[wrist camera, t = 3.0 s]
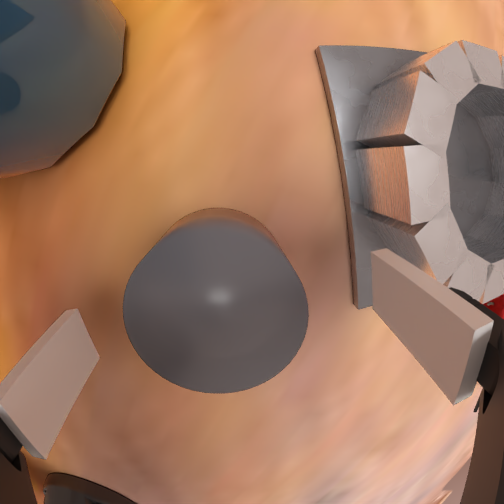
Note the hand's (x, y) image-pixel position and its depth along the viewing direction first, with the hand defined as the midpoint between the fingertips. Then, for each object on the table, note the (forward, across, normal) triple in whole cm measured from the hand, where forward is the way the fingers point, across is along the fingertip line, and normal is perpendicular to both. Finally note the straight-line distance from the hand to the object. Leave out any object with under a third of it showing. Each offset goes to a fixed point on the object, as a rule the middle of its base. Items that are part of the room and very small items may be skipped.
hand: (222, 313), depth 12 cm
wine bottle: (+6, -9, +15) cm, 18 cm away
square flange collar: (+6, +16, +4) cm, 17 cm away
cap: (+6, 0, 0) cm, 6 cm away
